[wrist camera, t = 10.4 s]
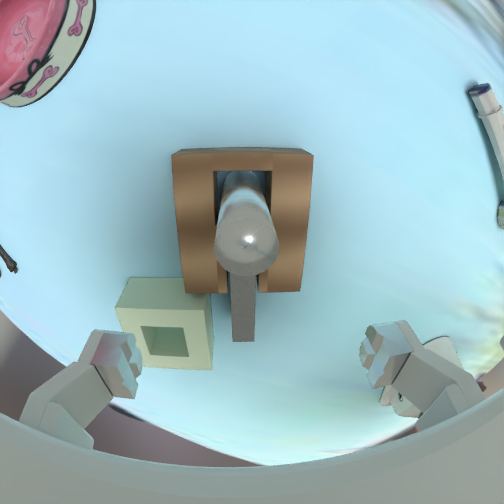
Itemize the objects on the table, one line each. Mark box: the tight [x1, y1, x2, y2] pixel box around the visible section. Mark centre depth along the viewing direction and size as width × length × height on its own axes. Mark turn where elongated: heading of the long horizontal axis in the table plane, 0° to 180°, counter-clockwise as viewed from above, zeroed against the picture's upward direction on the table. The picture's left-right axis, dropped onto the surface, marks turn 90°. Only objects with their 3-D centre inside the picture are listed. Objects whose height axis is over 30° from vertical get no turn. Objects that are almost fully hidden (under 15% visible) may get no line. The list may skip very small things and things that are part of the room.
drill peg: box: [214, 170, 279, 276], centre depth 21 cm, size 4×4×14 cm
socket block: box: [172, 147, 314, 293], centre depth 27 cm, size 14×12×4 cm
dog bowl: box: [0, 0, 96, 107], centre depth 13 cm, size 18×19×7 cm
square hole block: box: [115, 278, 214, 370], centre depth 32 cm, size 10×10×6 cm
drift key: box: [230, 273, 256, 342], centre depth 30 cm, size 12×2×5 cm, turn 179°
